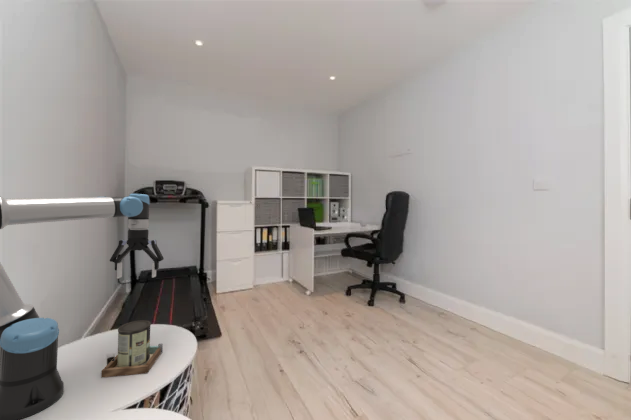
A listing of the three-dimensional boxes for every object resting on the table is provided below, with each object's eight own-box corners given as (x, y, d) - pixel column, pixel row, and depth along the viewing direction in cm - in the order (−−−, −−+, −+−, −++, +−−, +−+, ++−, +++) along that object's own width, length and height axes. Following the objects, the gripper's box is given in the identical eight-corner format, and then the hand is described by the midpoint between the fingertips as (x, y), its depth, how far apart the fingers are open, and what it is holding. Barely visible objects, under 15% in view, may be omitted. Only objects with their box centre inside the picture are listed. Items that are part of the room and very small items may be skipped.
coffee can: (133, 354, 105) (134, 318, 105) (156, 357, 103) (157, 321, 103) (109, 369, 94) (110, 330, 95) (133, 372, 93) (135, 333, 93)
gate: (123, 354, 104) (124, 346, 104) (126, 352, 106) (126, 344, 106) (161, 353, 106) (161, 345, 106) (163, 350, 108) (163, 343, 108)
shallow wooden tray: (101, 377, 90) (101, 370, 90) (120, 357, 103) (121, 350, 103) (147, 373, 93) (147, 366, 93) (160, 353, 106) (161, 347, 106)
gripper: (100, 229, 108) (99, 280, 108) (166, 229, 113) (165, 278, 113) (110, 228, 115) (109, 276, 115) (172, 228, 121) (170, 274, 120)
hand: (136, 277), depth 114 cm, fingers open, 13 cm apart
